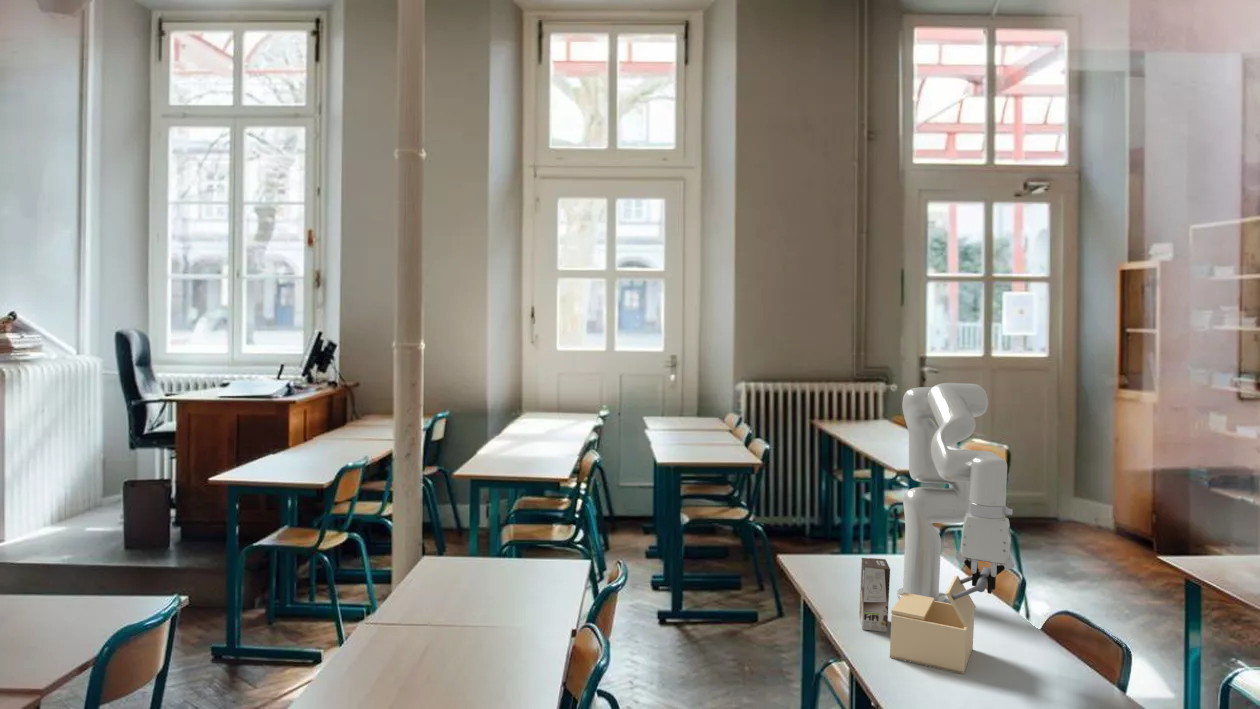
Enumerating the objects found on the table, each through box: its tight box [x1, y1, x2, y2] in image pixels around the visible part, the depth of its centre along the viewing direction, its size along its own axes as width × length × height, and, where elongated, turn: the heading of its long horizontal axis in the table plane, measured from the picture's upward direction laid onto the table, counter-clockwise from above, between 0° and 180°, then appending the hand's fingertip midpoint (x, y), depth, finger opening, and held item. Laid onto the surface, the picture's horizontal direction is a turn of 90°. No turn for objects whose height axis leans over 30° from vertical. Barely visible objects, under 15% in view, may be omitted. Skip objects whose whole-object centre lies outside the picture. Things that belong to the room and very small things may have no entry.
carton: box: [889, 592, 976, 675], centre depth 187 cm, size 16×16×11 cm
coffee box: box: [858, 557, 891, 633], centre depth 204 cm, size 9×6×16 cm
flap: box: [945, 566, 991, 627], centre depth 182 cm, size 8×14×8 cm
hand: (983, 590), depth 181 cm, fingers closed on flap, 2 cm apart
